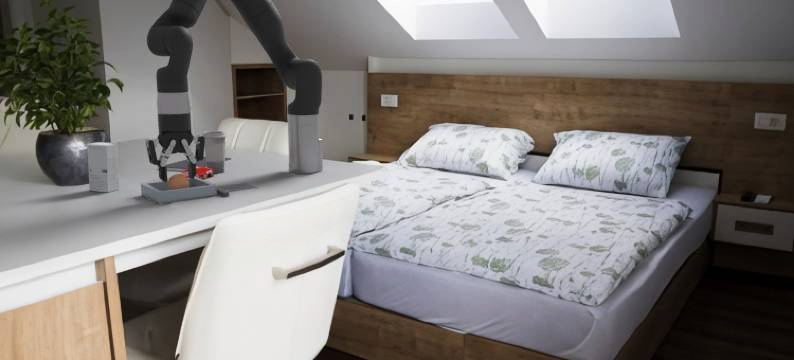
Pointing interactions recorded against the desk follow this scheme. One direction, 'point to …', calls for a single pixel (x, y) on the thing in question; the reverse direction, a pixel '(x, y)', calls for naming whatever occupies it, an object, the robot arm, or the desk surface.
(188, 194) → the blue-grey tray
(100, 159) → the skincare box
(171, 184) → the ball
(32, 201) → the desk surface
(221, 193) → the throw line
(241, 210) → the desk surface
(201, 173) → the race car
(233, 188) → the tee mat
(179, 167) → the notebook
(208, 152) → the cup
